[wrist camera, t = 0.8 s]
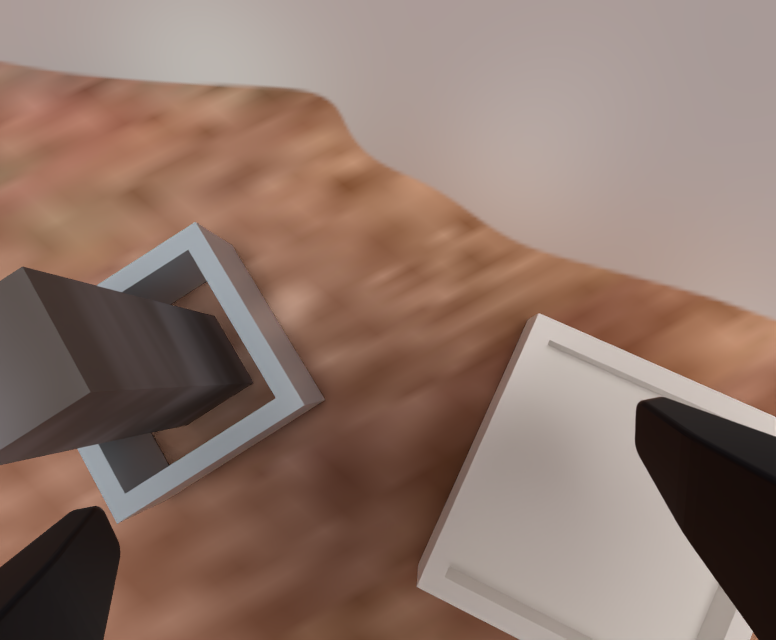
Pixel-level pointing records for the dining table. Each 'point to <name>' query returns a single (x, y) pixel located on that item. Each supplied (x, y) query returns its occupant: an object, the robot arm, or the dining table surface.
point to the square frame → (261, 338)
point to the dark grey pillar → (102, 365)
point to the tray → (576, 504)
